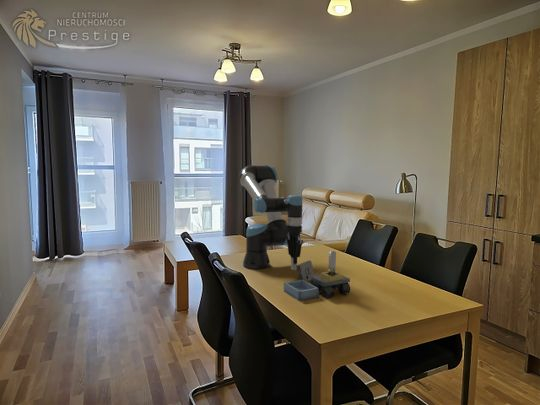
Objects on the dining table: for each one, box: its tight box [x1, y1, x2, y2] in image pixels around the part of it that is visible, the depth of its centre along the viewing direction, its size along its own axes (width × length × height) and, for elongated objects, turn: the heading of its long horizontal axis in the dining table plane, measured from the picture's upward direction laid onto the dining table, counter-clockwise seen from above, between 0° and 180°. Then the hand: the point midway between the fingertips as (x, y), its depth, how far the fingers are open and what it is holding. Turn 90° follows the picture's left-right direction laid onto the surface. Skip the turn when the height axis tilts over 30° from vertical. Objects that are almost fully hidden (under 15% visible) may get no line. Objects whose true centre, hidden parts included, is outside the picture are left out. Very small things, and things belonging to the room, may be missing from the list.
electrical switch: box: [296, 259, 315, 282], centre depth 181 cm, size 9×5×9 cm, turn 141°
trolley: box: [310, 270, 351, 299], centre depth 163 cm, size 13×14×9 cm
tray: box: [283, 279, 320, 302], centre depth 161 cm, size 13×10×4 cm
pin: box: [328, 250, 337, 276], centre depth 161 cm, size 3×3×12 cm
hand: (293, 269), depth 190 cm, fingers closed
